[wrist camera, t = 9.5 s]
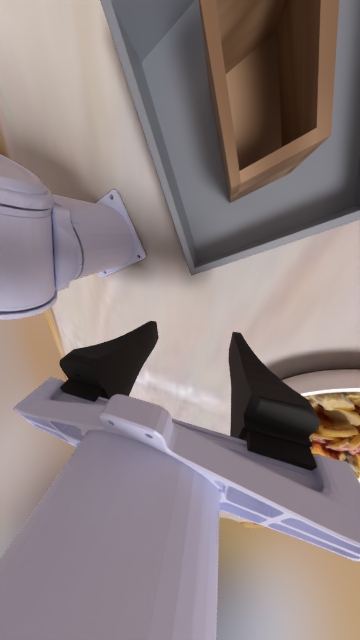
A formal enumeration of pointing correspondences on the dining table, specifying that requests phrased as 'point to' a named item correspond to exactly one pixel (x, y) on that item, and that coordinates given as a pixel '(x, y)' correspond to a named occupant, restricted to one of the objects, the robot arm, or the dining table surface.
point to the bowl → (333, 413)
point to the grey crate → (203, 146)
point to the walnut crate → (269, 84)
